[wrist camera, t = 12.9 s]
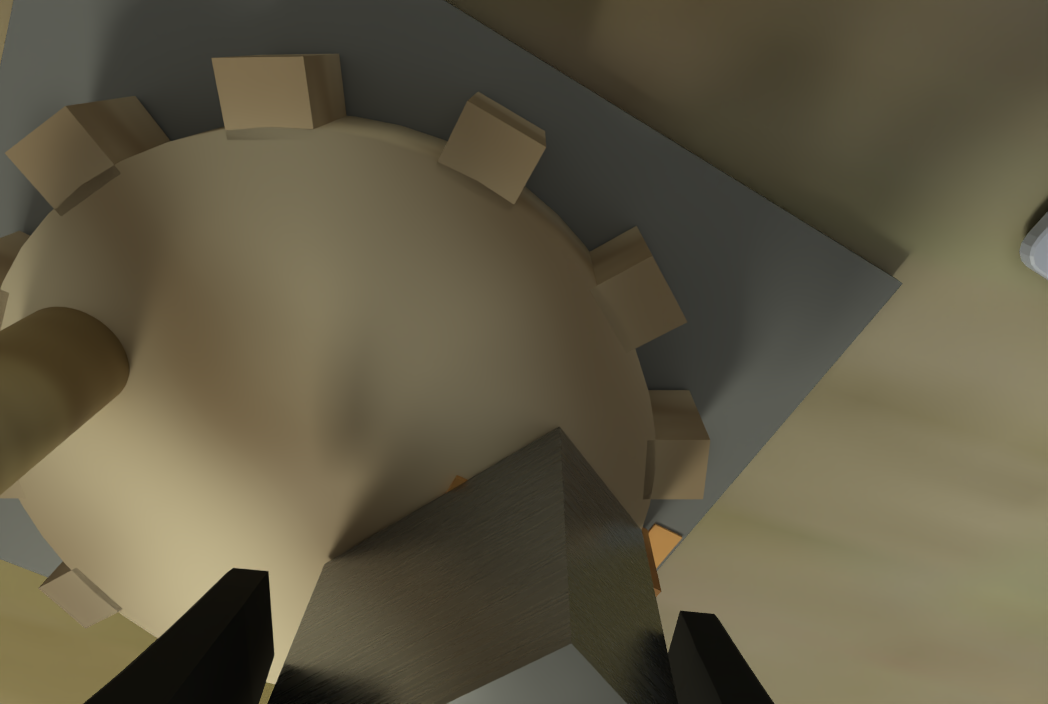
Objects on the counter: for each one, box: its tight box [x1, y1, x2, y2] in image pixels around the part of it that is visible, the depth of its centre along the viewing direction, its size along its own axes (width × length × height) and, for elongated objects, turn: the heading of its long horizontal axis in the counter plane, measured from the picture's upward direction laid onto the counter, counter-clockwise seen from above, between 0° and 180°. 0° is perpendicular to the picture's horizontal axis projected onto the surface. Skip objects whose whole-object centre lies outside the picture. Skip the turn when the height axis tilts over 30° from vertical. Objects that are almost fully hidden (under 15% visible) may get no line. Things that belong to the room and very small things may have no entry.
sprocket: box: [0, 54, 710, 684], centre depth 13 cm, size 15×15×6 cm
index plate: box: [0, 0, 903, 577], centre depth 15 cm, size 17×17×1 cm
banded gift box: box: [268, 426, 678, 704], centre depth 12 cm, size 3×6×5 cm, turn 125°
